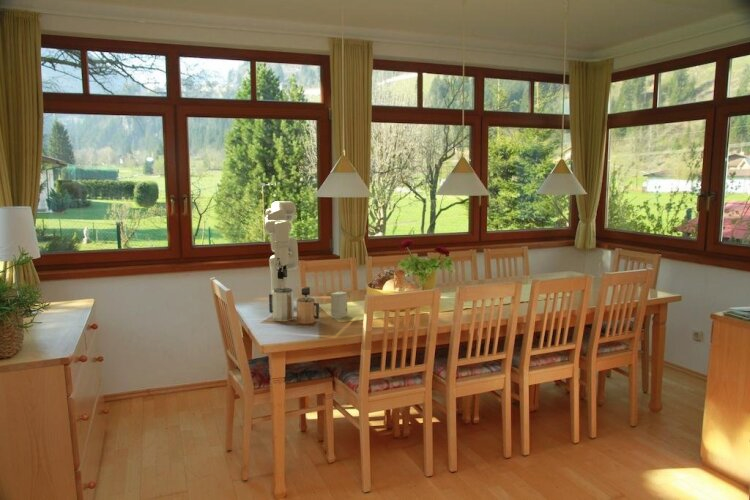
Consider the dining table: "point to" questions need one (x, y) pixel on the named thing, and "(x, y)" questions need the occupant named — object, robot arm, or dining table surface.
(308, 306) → the copper press
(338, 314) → the skincare box
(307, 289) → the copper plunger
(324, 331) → the dining table surface
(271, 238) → the robot arm
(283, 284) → the steel plunger
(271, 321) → the walnut board
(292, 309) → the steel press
